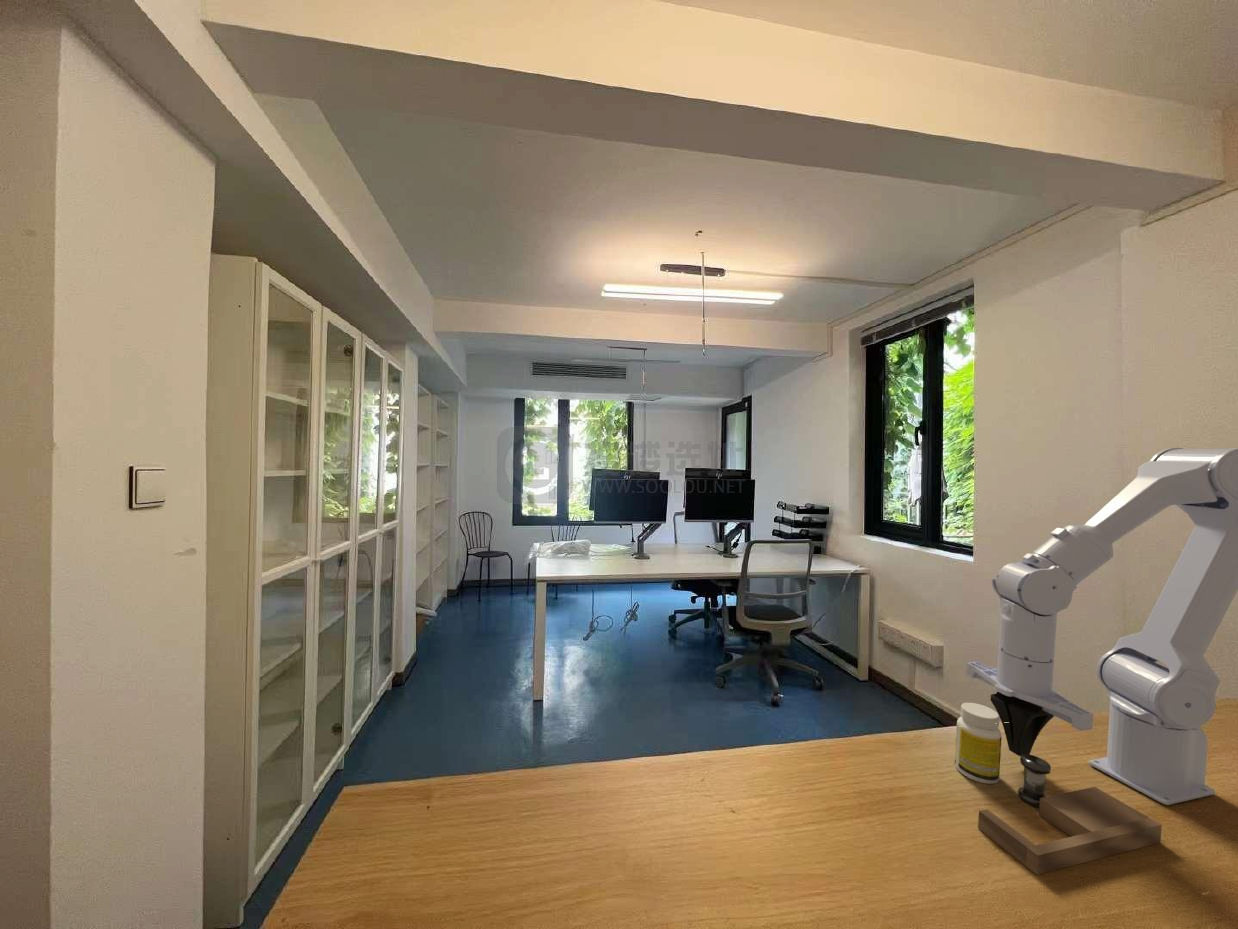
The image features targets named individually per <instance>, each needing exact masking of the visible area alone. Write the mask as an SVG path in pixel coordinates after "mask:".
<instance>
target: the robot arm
mask: <svg viewBox="0 0 1238 929" xmlns="http://www.w3.org/2000/svg"><path fill="white" fill-rule="evenodd" d="M1171 506H1177V508H1179V509H1180V510H1182V511H1183V512H1184V513H1186V514H1187V515H1188V517H1189V518H1190V519H1191V520H1192V522H1193V524H1194V528H1193V529H1192V531H1191V534H1190V535H1189V537H1188V539H1187V542H1186V543H1185V545H1184V547H1183V549H1182V551H1181V553H1180V555H1179V557H1178V559H1177V561H1176V563H1175V564H1174V567H1173V569H1172V570H1171V573H1170V575H1169V577H1168V579H1167V581H1166V583H1165V585H1164V587H1163V589H1162V591H1161V592H1160V595H1159V596H1158V598H1157V600H1156V601H1155V602H1156V603H1155V605H1154V606H1153V608H1152V610H1151V613H1150V614H1149V616H1148V618H1147V620H1146V622H1145V624H1144V626H1143V628H1142V630H1141V631H1139V632H1136V633H1132V634H1129V635H1125V636H1122V637H1119V638H1118V640H1117V642H1116V644H1115V645H1114V646H1113V648H1112V649H1110V650H1109V651H1107V652H1106V653H1104V654H1103V655H1102V656H1101V657H1100V658H1099V660H1098V662H1097V665H1096V669H1095V670H1096V675H1097V678H1098V681H1099V682H1100V684H1102V686H1103V687H1104V688H1106V689H1107V691H1106V692H1107V693H1106V697H1107V698H1108V699H1109V700H1110V703H1109V720H1108V733H1107V748H1106V749H1107V750H1106V751H1107V752H1106V756H1104V757H1100V758H1094V759H1090V760H1088V764H1089V765H1090V766H1092V767H1094V768H1096V769H1097V770H1099V771H1101V772H1103V773H1104V774H1106V775H1109V776H1110V777H1112V778H1114V779H1116V780H1118V781H1120V782H1121V783H1123V784H1125V785H1128V786H1129V787H1131V788H1133V789H1135V790H1137V791H1138V792H1141V793H1142V794H1144V795H1145V796H1148V797H1150V798H1151V799H1153V800H1155V801H1157V802H1158V803H1160V804H1163V805H1166V806H1170V805H1174V804H1178V803H1182V802H1187V801H1191V800H1196V799H1200V798H1203V797H1208V796H1212V795H1216V790H1215V789H1214V788H1212V787H1210V786H1208V785H1206V774H1207V773H1206V772H1207V761H1208V760H1207V759H1208V749H1209V748H1208V746H1209V745H1208V744H1209V743H1208V738H1207V735H1206V734H1205V731H1204V729H1203V728H1202V727H1203V726H1205V725H1206V724H1207V723H1208V722H1210V721H1211V719H1212V718H1213V717H1214V715H1215V712H1216V708H1217V707H1216V706H1217V705H1216V692H1217V691H1218V690H1217V689H1218V687H1219V685H1220V684H1221V680H1220V677H1219V676H1218V675H1217V673H1216V672H1215V671H1214V669H1213V668H1212V667H1211V666H1210V664H1209V662H1208V661H1207V660H1206V658H1205V656H1204V655H1205V654H1206V652H1207V650H1208V647H1209V646H1210V644H1211V642H1212V640H1213V638H1214V636H1215V635H1216V632H1217V631H1218V628H1219V627H1220V626H1221V623H1222V621H1223V619H1224V617H1225V615H1226V613H1227V611H1228V610H1229V608H1230V605H1231V603H1233V600H1234V598H1235V597H1236V594H1237V593H1238V447H1235V448H1183V447H1172V448H1171V447H1169V448H1165V449H1163V450H1160V451H1158V452H1156V453H1155V454H1154V455H1153V456H1152V457H1151V459H1150V460H1148V461H1146V462H1145V463H1143V464H1141V465H1139V466H1138V470H1137V476H1136V477H1135V478H1134V479H1133V480H1132V481H1131V482H1130V483H1129V484H1127V485H1126V486H1125V487H1124V488H1123V489H1122V490H1121V491H1120V492H1118V493H1117V494H1116V495H1115V496H1114V497H1113V498H1112V499H1111V500H1109V502H1107V503H1106V504H1104V506H1103V507H1102V508H1100V510H1099V511H1098V512H1096V514H1094V515H1093V516H1092V517H1091V518H1090V519H1088V520H1087V521H1086V522H1085V523H1084V524H1083V525H1081V524H1080V525H1077V524H1069V525H1064V527H1063V528H1061V527H1056V528H1055V529H1053V530H1052V531H1051V532H1050V535H1051V537H1050V538H1049V539H1048V540H1046V541H1045V542H1044V543H1042V544H1041V545H1040V546H1039V547H1037V548H1036V549H1035V550H1033V551H1032V552H1030V553H1029V552H1028V553H1027V552H1026V554H1025V555H1023V556H1022V560H1021V561H1015V562H1010V563H1008V564H1005V565H1003V566H1002V567H1001V568H1000V569H999V570H998V572H997V573H996V577H995V578H992V579H991V586H992V589H993V590H994V592H995V594H996V595H997V596H998V597H999V608H1000V617H999V633H998V634H999V635H998V651H997V652H998V654H997V667H995V668H994V667H992V666H989V665H986V664H983V663H980V662H979V661H971V662H966V670H965V672H966V674H965V675H966V676H968V677H969V678H971V679H977V680H980V681H982V682H984V683H985V684H988V685H989V686H990V685H991V686H993V687H994V690H995V691H996V693H991V694H990V701H991V703H992V705H993V707H994V709H995V711H996V712H997V713H998V715H999V720H1000V721H1001V723H1002V728H1003V731H1004V734H1005V738H1006V742H1007V747H1008V751H1010V752H1012V753H1013V754H1014V755H1017V756H1018V757H1020V756H1021V755H1022V754H1029V755H1031V752H1032V750H1033V747H1034V744H1035V742H1036V740H1037V737H1038V736H1039V735H1040V733H1041V731H1042V730H1043V729H1044V727H1045V726H1046V725H1047V724H1049V722H1050V721H1051V720H1052V719H1053V718H1054V717H1056V718H1058V719H1060V720H1062V721H1065V722H1066V723H1068V724H1071V727H1072V728H1073V729H1076V730H1078V731H1079V732H1083V731H1089V730H1093V725H1094V714H1093V713H1092V712H1090V711H1088V710H1085V709H1084V708H1082V707H1080V706H1078V705H1077V704H1075V703H1073V702H1071V701H1070V700H1068V699H1067V698H1065V697H1064V696H1062V695H1060V694H1059V693H1058V692H1056V691H1054V690H1053V682H1054V680H1053V679H1054V668H1055V648H1056V635H1057V634H1056V633H1057V621H1058V620H1057V618H1058V613H1059V612H1061V611H1064V610H1066V609H1067V608H1068V607H1070V606H1069V605H1070V604H1071V602H1072V600H1073V592H1074V591H1075V590H1076V589H1077V588H1078V587H1077V586H1079V585H1078V584H1080V583H1081V582H1083V580H1085V579H1087V578H1088V577H1089V576H1090V575H1091V574H1093V573H1095V571H1096V570H1098V569H1100V568H1101V567H1102V566H1104V564H1106V563H1107V562H1109V561H1110V560H1111V559H1112V558H1114V547H1113V544H1114V543H1115V542H1117V541H1118V540H1120V539H1121V538H1123V537H1124V536H1126V535H1127V534H1129V533H1130V532H1131V531H1132V532H1133V530H1135V529H1136V528H1138V527H1140V526H1141V525H1142V524H1144V523H1145V522H1147V521H1148V520H1151V518H1154V516H1156V515H1157V514H1159V513H1160V512H1163V511H1164V510H1166V509H1167V508H1168V507H1171ZM1157 662H1159V663H1163V665H1165V666H1166V667H1165V666H1163V665H1161V664H1159V663H1157ZM1004 722H1009V723H1004Z"/></svg>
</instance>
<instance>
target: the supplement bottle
mask: <svg viewBox="0 0 1238 929" xmlns="http://www.w3.org/2000/svg"><path fill="white" fill-rule="evenodd" d="M995 723H997V724H995ZM959 726H966V727H959ZM999 726H1000V717H999V714H998V712H997V711H996V710H995V709H992V708H990V707H989V706H986V705H983V704H980V703H975V702H963V703H962V704H961V706H960V716H959V717H958V718H957V721H956V728H955V729H956V732H955V750H954V755H955V756H954V766H955V768H956V769H957V770H958V771H959V772H960V773H961V774H962V775H963V774H964V775H963V776H965V777H966V776H967V778H968V779H970V780H972V781H975V782H978V783H981V784H990V785H991V784H994V785H995V784H997V783H998V782H999V780H1000V775H1001V774H1000V770H1001V758H1002V757H1001V755H1002V754H1001V752H1002V739H1003V738H1002V737H1003V736H1002V732H1001V730H1000V729H999Z"/></svg>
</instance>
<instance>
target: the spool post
mask: <svg viewBox="0 0 1238 929" xmlns="http://www.w3.org/2000/svg"><path fill="white" fill-rule="evenodd" d="M1019 757H1020V759H1019V763H1020V764H1021V765H1022V766H1023V776H1022V778H1023V780H1022V786H1020V787H1019V788H1018V792H1017V795H1018V798H1019V799H1020V800H1021V801H1022V802H1024V803H1025V804H1027V805H1029V804H1030V805H1029V806H1031V807H1035V808H1037V809H1039V806H1040V798H1043V797H1047V796H1046V795H1045V792H1046V777H1047V775H1049V774H1050V773H1051V771H1052V770H1051V768H1052V766H1051V764H1050V763H1049V762H1048V761H1046V760H1045V759H1043V758H1041V757H1039V756H1036V755H1032V754H1022V755H1021V756H1019Z"/></svg>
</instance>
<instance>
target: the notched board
mask: <svg viewBox="0 0 1238 929" xmlns="http://www.w3.org/2000/svg"><path fill="white" fill-rule="evenodd" d="M1038 809H1039V811H1038V815H1039V816H1040V817H1041V818H1043V819H1044V820H1045V821H1047V822H1049V823H1050V824H1052V825H1053V826H1055V827H1056V828H1057V829H1059V830H1061V831H1062V832H1063V833H1065V834H1067V835H1068V836H1069V837H1068V836H1067V837H1064V838H1060V839H1057V840H1052V841H1047V842H1043V843H1040V844H1035V843H1033V841H1031V840H1029V839H1028V838H1027V837H1026V836H1024V835H1023V834H1022V833H1020V832H1019V831H1017V830H1016V829H1015V828H1013V827H1012V825H1009V823H1007V822H1005V821H1004V820H1003V819H1001V818H1000V817H999V816H997V815H995V813H993V812H992V811H990V810H989V809H987V808H986V809H981V810H978V819H977V822H978V823H977V829H978V828H979V829H980V830H979V829H978V830H979V831H981V832H982V833H983V834H985V835H986V836H987V837H988V838H990V839H991V840H992V841H993V842H995V843H996V844H998V846H1000V847H1001V848H1002V849H1003V850H1005V851H1006V852H1007V853H1009V854H1010V855H1011V856H1013V858H1014V859H1016V860H1017V861H1019V862H1020V863H1021V864H1022V865H1023V866H1025V868H1027V869H1029V870H1030V871H1031V872H1032V873H1033V874H1035V875H1036V876H1038V875H1041V874H1046V873H1049V872H1055V871H1057V870H1060V869H1066V868H1069V867H1072V866H1077V865H1080V864H1084V863H1087V862H1090V861H1095V860H1099V859H1103V858H1107V857H1110V856H1114V855H1118V854H1122V853H1125V852H1126V853H1127V852H1129V851H1133V850H1137V849H1141V848H1145V847H1148V846H1152V845H1156V844H1159V843H1161V839H1162V838H1161V837H1162V828H1163V827H1162V824H1161V823H1159V822H1158V821H1156V820H1155V819H1153V818H1151V817H1149V816H1148V815H1146V814H1144V813H1142V812H1140V811H1138V810H1137V809H1135V808H1133V807H1131V806H1129V805H1128V804H1126V803H1124V802H1122V801H1121V800H1119V799H1117V798H1115V797H1114V796H1112V795H1111V794H1108V793H1107V792H1105V791H1103V790H1102V789H1101V788H1100V789H1099V788H1098V787H1096V786H1093V787H1092V786H1091V787H1087V788H1084V789H1083V788H1082V789H1078V790H1073V791H1072V790H1071V791H1068V792H1062V793H1059V794H1054V795H1049V796H1046V797H1043V798H1040V806H1039V808H1038Z"/></svg>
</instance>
